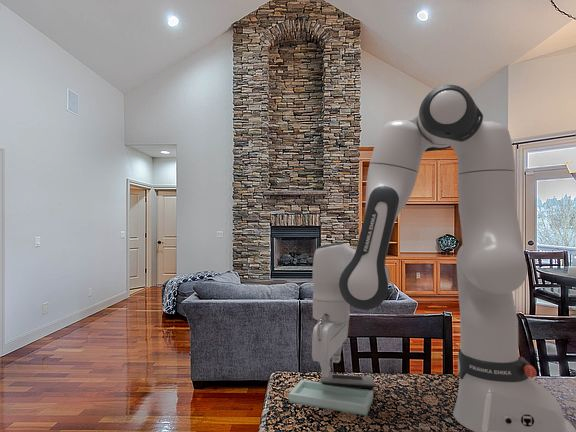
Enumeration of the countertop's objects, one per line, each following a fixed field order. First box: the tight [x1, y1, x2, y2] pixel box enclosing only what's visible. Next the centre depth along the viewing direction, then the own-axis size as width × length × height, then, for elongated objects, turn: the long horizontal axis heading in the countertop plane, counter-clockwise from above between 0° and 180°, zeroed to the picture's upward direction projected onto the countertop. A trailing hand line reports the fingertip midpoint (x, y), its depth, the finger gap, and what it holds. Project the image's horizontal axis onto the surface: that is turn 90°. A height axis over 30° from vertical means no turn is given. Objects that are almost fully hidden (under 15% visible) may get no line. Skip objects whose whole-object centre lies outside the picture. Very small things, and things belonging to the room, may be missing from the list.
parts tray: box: [288, 379, 374, 417], centre depth 93 cm, size 18×9×2 cm, turn 69°
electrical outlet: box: [320, 373, 376, 389], centre depth 100 cm, size 13×10×2 cm
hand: (331, 368), depth 93 cm, fingers open, 8 cm apart
